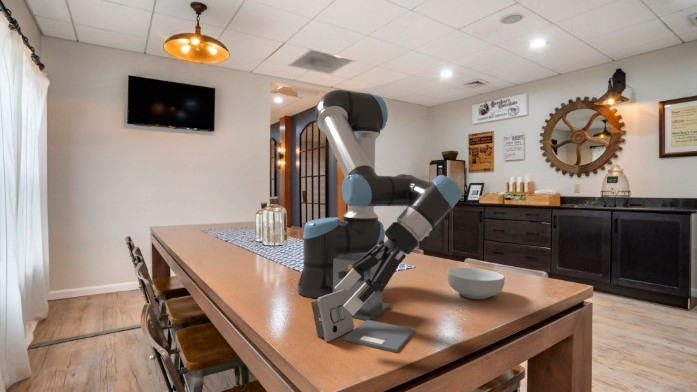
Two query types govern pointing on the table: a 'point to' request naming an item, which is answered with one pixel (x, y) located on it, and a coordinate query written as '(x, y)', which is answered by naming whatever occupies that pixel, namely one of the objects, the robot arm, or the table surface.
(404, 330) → the pad
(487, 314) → the table surface
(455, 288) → the cereal bowl
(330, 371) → the table surface
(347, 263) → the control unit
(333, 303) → the electrical switch
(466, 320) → the table surface
